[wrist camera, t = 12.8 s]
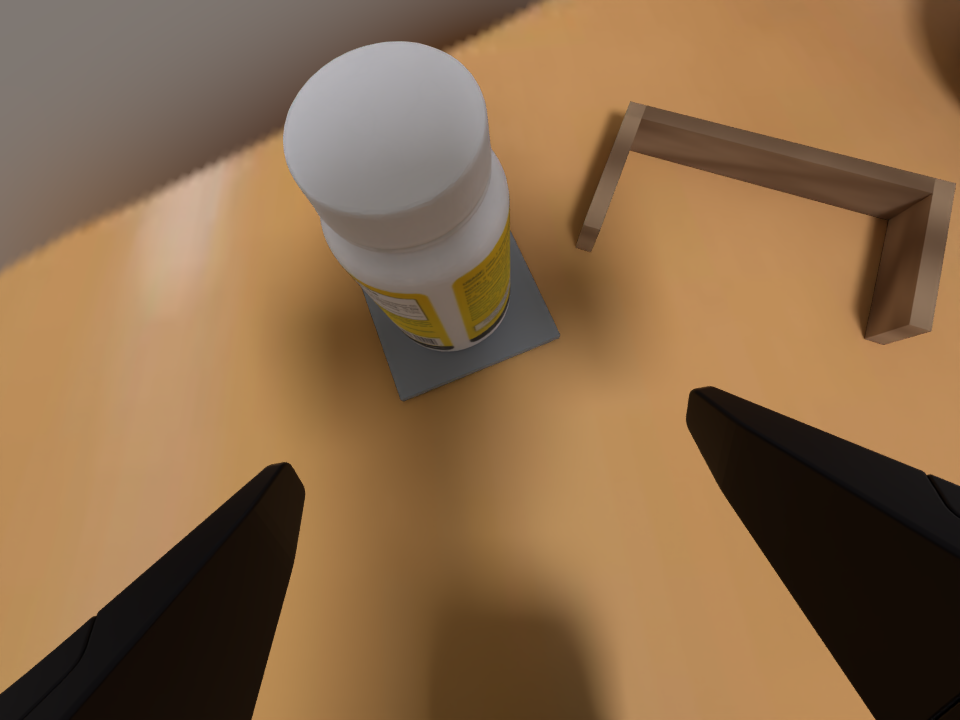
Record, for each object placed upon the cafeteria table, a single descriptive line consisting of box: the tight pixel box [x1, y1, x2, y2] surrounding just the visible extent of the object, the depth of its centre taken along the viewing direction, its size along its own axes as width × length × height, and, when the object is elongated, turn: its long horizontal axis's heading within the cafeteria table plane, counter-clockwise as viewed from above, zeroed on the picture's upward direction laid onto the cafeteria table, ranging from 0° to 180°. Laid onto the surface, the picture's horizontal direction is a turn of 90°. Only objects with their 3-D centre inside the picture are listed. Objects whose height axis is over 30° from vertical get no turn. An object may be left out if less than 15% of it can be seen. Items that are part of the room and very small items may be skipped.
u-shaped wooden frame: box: [576, 101, 956, 345], centre depth 23 cm, size 9×18×2 cm, turn 68°
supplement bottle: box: [283, 41, 511, 351], centre depth 17 cm, size 7×7×13 cm
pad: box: [362, 231, 560, 401], centre depth 24 cm, size 10×10×1 cm
